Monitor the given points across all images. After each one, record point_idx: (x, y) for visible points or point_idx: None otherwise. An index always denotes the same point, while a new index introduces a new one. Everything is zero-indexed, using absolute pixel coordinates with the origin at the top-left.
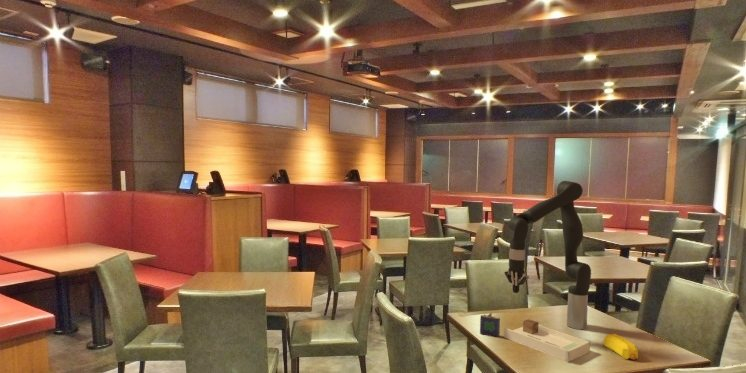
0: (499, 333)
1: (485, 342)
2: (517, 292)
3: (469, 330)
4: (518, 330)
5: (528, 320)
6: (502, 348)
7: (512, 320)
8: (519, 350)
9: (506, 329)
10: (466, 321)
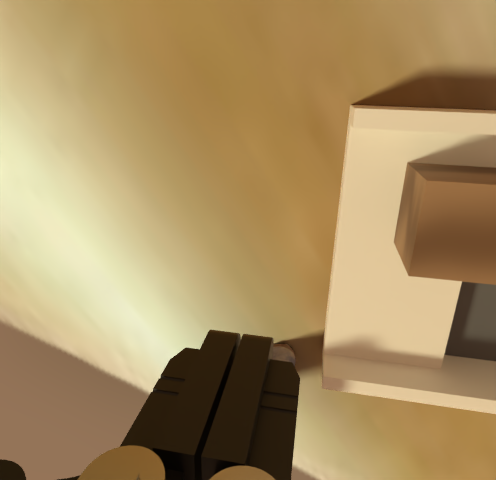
0: (292, 360)
1: (297, 460)
2: (271, 359)
3: (143, 388)
4: (363, 254)
5: (440, 227)
6: (400, 470)
7: (162, 2)
8: (485, 441)
9: (342, 389)
10: (33, 292)
